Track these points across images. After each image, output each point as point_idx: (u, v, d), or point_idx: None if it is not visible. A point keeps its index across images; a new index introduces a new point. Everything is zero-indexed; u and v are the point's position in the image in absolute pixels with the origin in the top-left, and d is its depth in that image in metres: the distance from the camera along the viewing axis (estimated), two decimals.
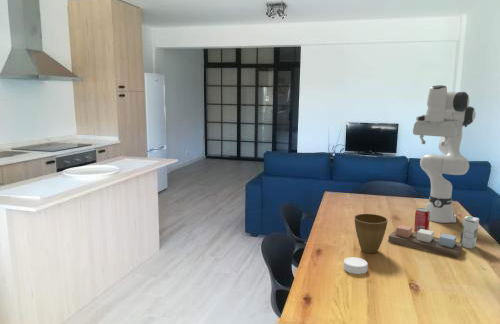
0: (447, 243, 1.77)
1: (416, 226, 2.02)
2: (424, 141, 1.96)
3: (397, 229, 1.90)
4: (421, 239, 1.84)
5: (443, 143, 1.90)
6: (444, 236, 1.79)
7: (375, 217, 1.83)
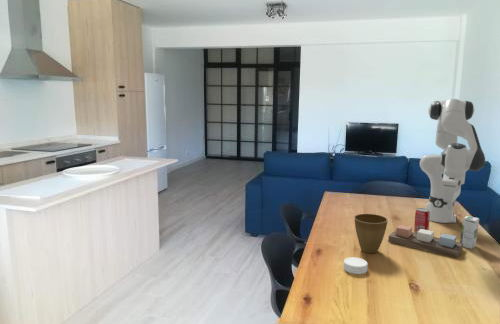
0: (447, 243, 1.77)
1: (416, 226, 2.02)
2: (452, 206, 1.74)
3: (397, 229, 1.90)
4: (421, 239, 1.84)
5: (454, 204, 1.78)
6: (444, 236, 1.79)
7: (375, 217, 1.83)
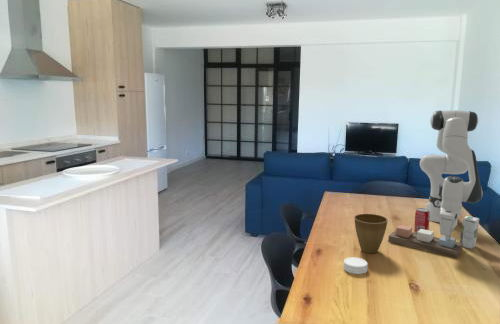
0: (447, 246, 1.77)
1: (416, 226, 2.02)
2: (450, 236, 1.78)
3: (397, 229, 1.90)
4: (421, 239, 1.84)
5: (450, 236, 1.79)
6: (444, 239, 1.79)
7: (375, 217, 1.83)
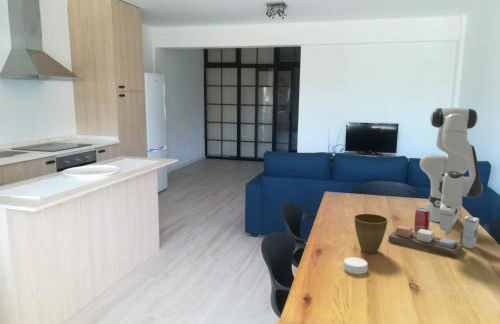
0: None
1: (416, 226, 2.02)
2: (450, 231, 1.78)
3: (397, 229, 1.90)
4: (421, 239, 1.84)
5: (450, 231, 1.79)
6: (444, 241, 1.79)
7: (375, 217, 1.83)
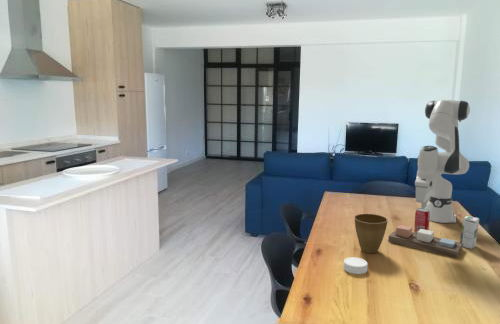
0: None
1: (416, 226, 2.02)
2: (426, 204, 1.83)
3: (397, 229, 1.90)
4: (421, 239, 1.84)
5: (426, 205, 1.84)
6: (444, 241, 1.79)
7: (375, 217, 1.83)
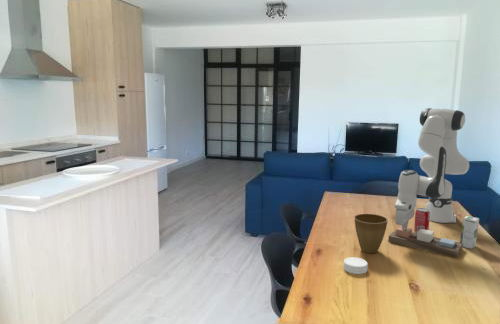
0: None
1: (416, 226, 2.02)
2: (406, 226, 1.90)
3: (397, 231, 1.91)
4: (421, 239, 1.84)
5: (406, 226, 1.91)
6: (444, 241, 1.79)
7: (375, 217, 1.83)
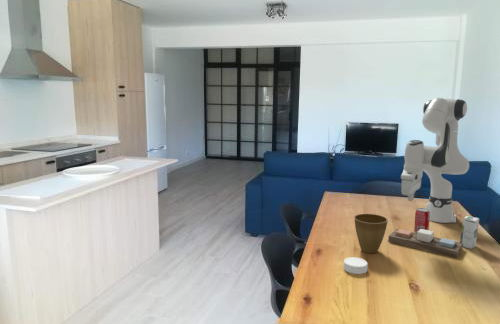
0: None
1: (416, 226, 2.02)
2: (412, 197, 1.88)
3: (397, 233, 1.91)
4: (421, 239, 1.84)
5: (413, 197, 1.89)
6: (444, 241, 1.79)
7: (375, 217, 1.83)
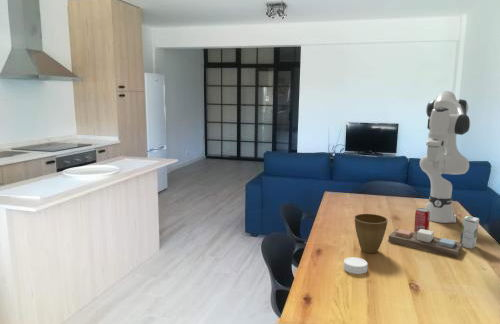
0: None
1: (416, 226, 2.02)
2: (437, 166, 1.86)
3: (397, 233, 1.91)
4: (421, 239, 1.84)
5: (437, 166, 1.86)
6: (444, 241, 1.79)
7: (375, 217, 1.83)
